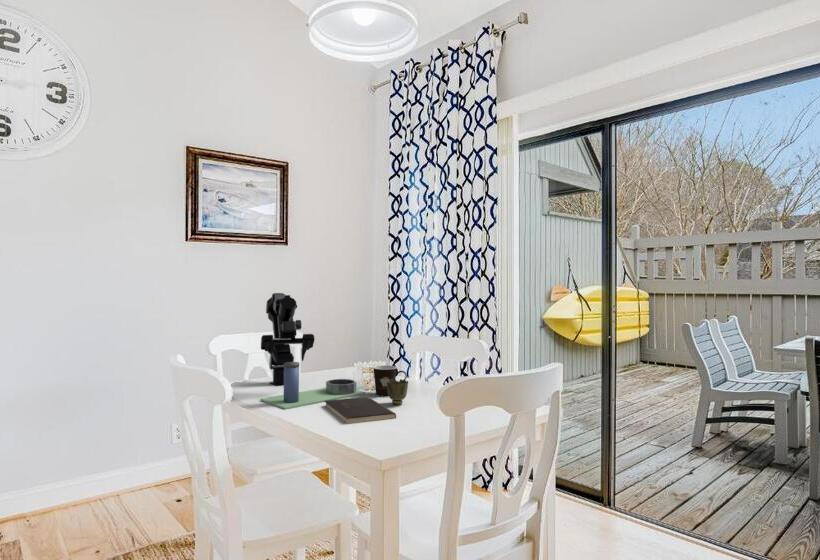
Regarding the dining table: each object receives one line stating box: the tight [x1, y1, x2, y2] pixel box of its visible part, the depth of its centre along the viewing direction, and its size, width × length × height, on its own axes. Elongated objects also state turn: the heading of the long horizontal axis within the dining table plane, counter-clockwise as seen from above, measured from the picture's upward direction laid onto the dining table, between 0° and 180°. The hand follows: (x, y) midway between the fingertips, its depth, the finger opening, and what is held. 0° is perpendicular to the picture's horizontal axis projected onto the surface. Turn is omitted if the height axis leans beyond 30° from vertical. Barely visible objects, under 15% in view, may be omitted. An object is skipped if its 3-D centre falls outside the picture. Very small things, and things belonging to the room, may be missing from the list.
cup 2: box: [387, 378, 409, 406], centre depth 178 cm, size 8×7×8 cm
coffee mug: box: [373, 364, 408, 398], centre depth 192 cm, size 12×9×10 cm
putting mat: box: [259, 387, 367, 410], centre depth 187 cm, size 16×34×1 cm, turn 135°
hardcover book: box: [324, 396, 397, 424], centre depth 168 cm, size 16×23×2 cm
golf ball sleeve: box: [283, 361, 300, 403], centre depth 177 cm, size 5×5×13 cm
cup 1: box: [325, 378, 358, 395], centre depth 194 cm, size 11×11×4 cm
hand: (289, 361), depth 185 cm, fingers open, 9 cm apart
